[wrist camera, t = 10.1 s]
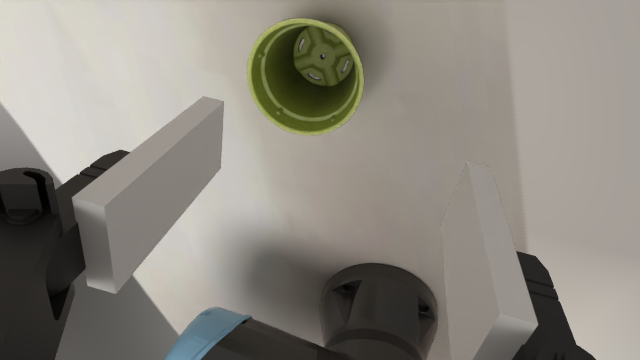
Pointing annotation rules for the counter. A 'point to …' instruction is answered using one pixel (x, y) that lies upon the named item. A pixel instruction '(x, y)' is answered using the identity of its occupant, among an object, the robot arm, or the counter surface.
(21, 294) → the robot arm
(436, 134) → the counter surface
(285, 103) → the plant pot
